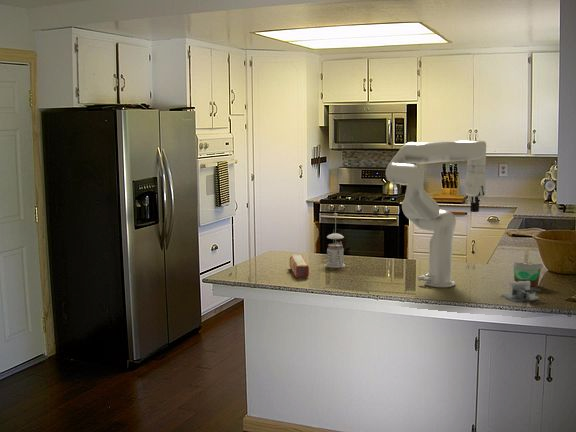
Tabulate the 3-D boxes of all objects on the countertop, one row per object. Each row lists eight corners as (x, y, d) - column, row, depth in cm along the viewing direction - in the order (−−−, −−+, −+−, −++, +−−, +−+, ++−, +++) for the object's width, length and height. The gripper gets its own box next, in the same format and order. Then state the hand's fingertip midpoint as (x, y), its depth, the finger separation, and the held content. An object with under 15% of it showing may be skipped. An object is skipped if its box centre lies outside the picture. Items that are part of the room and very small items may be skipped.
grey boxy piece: (523, 300, 270) (523, 287, 269) (509, 294, 278) (510, 282, 278) (545, 298, 272) (545, 285, 272) (531, 292, 281) (531, 280, 280)
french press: (340, 262, 343) (341, 211, 339) (350, 267, 332) (351, 214, 328) (321, 263, 340) (322, 212, 336) (330, 269, 329) (331, 215, 325)
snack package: (309, 279, 311) (309, 263, 310) (294, 279, 310) (294, 264, 309) (303, 268, 331) (303, 254, 330) (289, 268, 331) (289, 254, 330)
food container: (509, 286, 296) (511, 263, 294) (510, 283, 302) (512, 260, 300) (541, 289, 292) (542, 265, 290) (541, 286, 297) (543, 262, 296)
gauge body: (514, 302, 273) (514, 293, 272) (501, 296, 281) (501, 288, 281) (539, 300, 276) (539, 291, 275) (525, 294, 284) (526, 286, 284)
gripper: (459, 168, 312) (458, 209, 315) (477, 171, 298) (475, 214, 301) (475, 167, 314) (473, 209, 317) (493, 170, 300) (491, 213, 303)
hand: (474, 211), depth 309 cm, fingers closed
